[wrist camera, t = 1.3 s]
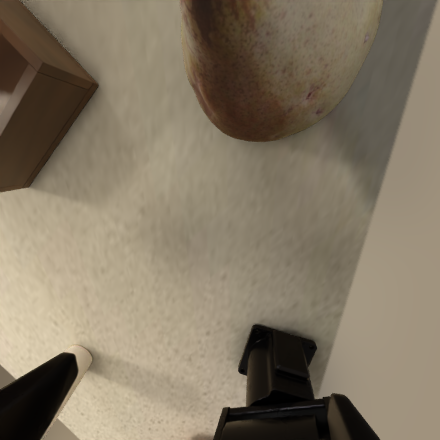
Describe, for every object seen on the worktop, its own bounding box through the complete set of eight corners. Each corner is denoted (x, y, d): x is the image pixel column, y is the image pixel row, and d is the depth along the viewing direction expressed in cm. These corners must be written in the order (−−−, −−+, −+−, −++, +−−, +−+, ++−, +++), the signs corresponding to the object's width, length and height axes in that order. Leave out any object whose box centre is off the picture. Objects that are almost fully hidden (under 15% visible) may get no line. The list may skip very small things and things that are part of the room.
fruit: (209, -22, 15) (82, -495, 4) (356, -23, 14) (743, -670, 3) (201, 139, 19) (119, 125, 7) (322, 148, 17) (446, 148, 6)
